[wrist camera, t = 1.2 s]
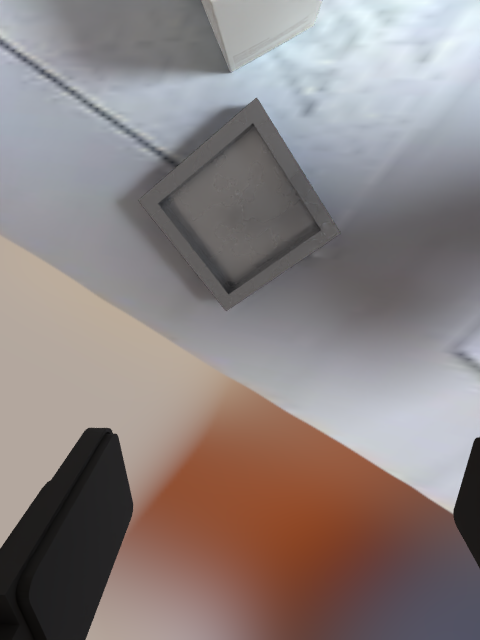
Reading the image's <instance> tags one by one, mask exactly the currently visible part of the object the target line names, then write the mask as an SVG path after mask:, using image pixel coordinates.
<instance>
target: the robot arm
mask: <svg viewBox="0 0 480 640" xmlns="http://www.w3.org/2000/svg"><path fill="white" fill-rule="evenodd" d="M132 512H133V501H132V497H131V492H130V487H129V483H128V479H127V474H126V469H125V465H124V461H123V456H122V451H121V447H120V443H119V438H118V435H117V434H113V433H112V430H111V429H110V428H88V429H86V431H84V433H83V434H82V436H81V437H80V439H79V440H78V442H77V443H76V444H75V446H74V448H73V449H72V450H71V452H70V453H69V455H68V456H67V458H66V459H65V461H64V462H63V464H62V465H61V466H60V468H59V469H58V471H57V472H56V474H55V475H54V477H53V478H52V480H51V481H49V482H47V484H45V486H44V487H43V488H42V489H41V491H40V492H39V494H38V495H37V497H36V498H35V499H34V501H33V502H32V504H31V505H30V507H29V508H28V510H27V511H26V512H25V514H24V515H23V517H22V518H21V520H20V521H19V523H18V524H17V526H16V527H15V528H14V530H13V531H12V533H11V534H10V536H9V537H8V539H7V540H6V541H5V543H4V544H3V546H2V547H1V548H0V640H85V639H86V637H87V634H88V631H89V629H90V626H91V623H92V621H93V618H94V615H95V613H96V610H97V607H98V605H99V602H100V599H101V597H102V594H103V591H104V589H105V586H106V584H107V581H108V578H109V575H110V573H111V570H112V568H113V565H114V562H115V559H116V557H117V554H118V551H119V549H120V546H121V544H122V541H123V538H124V535H125V533H126V530H127V528H128V525H129V522H130V520H131V517H132ZM453 513H454V520H455V523H456V526H457V528H458V530H459V531H460V533H461V535H462V537H463V539H464V540H465V542H466V544H467V546H468V548H469V550H470V551H471V553H472V555H473V557H474V558H475V560H476V562H477V564H478V566H479V568H480V438H476V439H475V440H474V443H473V446H472V450H471V453H470V457H469V460H468V463H467V467H466V470H465V474H464V477H463V480H462V484H461V487H460V491H459V494H458V497H457V501H456V504H455V508H454V512H453Z"/></svg>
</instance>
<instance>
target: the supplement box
mask: <svg viewBox="0 0 480 640" xmlns="http://www.w3.org/2000/svg"><path fill="white" fill-rule="evenodd" d="M201 1H202V4H203V7H204V9H205V12H206V15H207V17H208V20H209V22H210V25H211V27H212V30H213V32H214V34H215V37H216V39H217V42H218V44H219V47H220V49H221V51H222V54H223V56H224V58H225V61H226V63H227V66H228V68H229V71H230V72H233V71H235V70H237V69H239V68H240V67H242V66H244V65H246V64H248V63H249V62H251V61H253V60H255V59H256V58H258V57H260V56H262V55H264V54H265V53H267V52H269V51H271V50H272V49H274V48H276V47H278V46H279V45H281V44H283V43H285V42H287V41H288V40H290V39H292V38H294V37H295V36H297V35H299V34H301V33H302V32H304V31H306V30H308V29H309V28H311V27H313V26H314V25H315V22H316V19H317V16H318V13H319V10H320V7H321V4H322V1H323V0H201Z"/></svg>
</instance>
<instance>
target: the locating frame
mask: <svg viewBox="0 0 480 640" xmlns="http://www.w3.org/2000/svg"><path fill="white" fill-rule="evenodd" d="M138 201H139V202H140V204H141V205H142V206H143V208H144V209H145V210H146V211H147V213H148V214H149V215H150V216H151V218H152V219H153V220H154V221H155V223H156V224H157V225H158V226H159V228H160V229H161V230H162V231H163V233H164V234H165V235H166V236H167V238H168V239H169V240H170V241H171V243H172V244H173V245H174V246H175V248H176V249H177V250H178V251H179V253H180V254H181V255H182V256H183V258H184V259H185V260H186V261H187V263H188V264H189V265H190V267H191V268H192V269H193V270H194V272H195V273H196V274H197V275H198V277H199V278H200V279H201V280H202V282H203V283H204V284H205V285H206V287H207V288H208V289H209V290H210V292H211V293H212V294H213V295H214V297H215V298H216V299H217V300H218V302H219V303H220V304H221V305H222V307H223V308H224V309H225V310H226V311H227V310H229V309H230V308H232V307H233V306H235V305H236V304H238V303H239V302H240V301H242V300H243V299H245V298H246V297H248V296H249V295H251V294H252V293H254V292H255V291H257V290H258V289H260V288H261V287H263V286H264V285H266V284H267V283H269V282H270V281H272V280H273V279H274V278H276V277H277V276H279V275H280V274H282V273H283V272H285V271H286V270H288V269H289V268H291V267H292V266H294V265H295V264H297V263H298V262H300V261H301V260H303V259H304V258H306V257H307V256H308V255H310V254H311V253H313V252H314V251H316V250H317V249H319V248H320V247H322V246H323V245H325V244H326V243H328V242H329V241H331V240H332V239H334V238H335V237H337V236H338V235H340V234H341V233H340V231H339V229H338V228H337V226H336V224H335V223H334V221H333V220H332V218H331V216H330V215H329V213H328V212H327V210H326V208H325V207H324V205H323V203H322V202H321V200H320V199H319V197H318V195H317V194H316V192H315V191H314V189H313V187H312V186H311V184H310V183H309V181H308V179H307V178H306V176H305V174H304V173H303V171H302V170H301V168H300V166H299V165H298V163H297V162H296V160H295V158H294V157H293V155H292V153H291V152H290V150H289V149H288V147H287V145H286V144H285V142H284V141H283V139H282V137H281V136H280V134H279V133H278V131H277V129H276V128H275V126H274V124H273V123H272V121H271V120H270V118H269V116H268V115H267V113H266V112H265V110H264V108H263V107H262V105H261V103H260V102H259V100H258V99H257V98H255V99H254V100H253V101H252V102H251V103H250V104H248V105H247V106H246V107H245V108H244V109H243V110H242V111H240V112H239V113H238V114H237V115H236V116H235V117H234V118H232V119H231V120H230V121H229V122H228V123H227V124H225V125H224V126H223V127H222V128H221V129H220V130H219V131H217V132H216V133H215V134H214V135H213V136H212V137H210V138H209V139H208V140H207V141H206V142H205V143H204V144H202V145H201V146H200V147H199V148H198V149H197V150H196V151H194V152H193V153H192V154H191V155H190V156H189V157H187V158H186V159H185V160H184V161H183V162H182V163H181V164H179V165H178V166H177V167H176V168H175V169H174V170H173V171H171V172H170V173H169V174H168V175H167V176H166V177H164V178H163V179H162V180H161V181H160V182H159V183H158V184H156V185H155V186H154V187H153V188H152V189H151V190H149V191H148V192H147V193H146V194H145V195H144V196H143V197H141V198H140V199H139V200H138Z"/></svg>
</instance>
